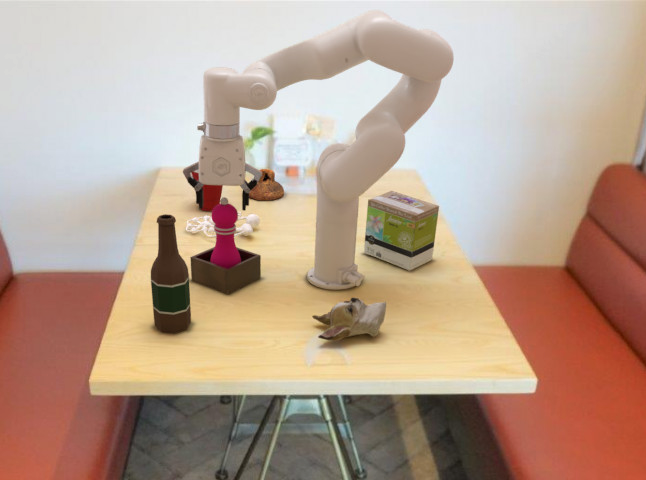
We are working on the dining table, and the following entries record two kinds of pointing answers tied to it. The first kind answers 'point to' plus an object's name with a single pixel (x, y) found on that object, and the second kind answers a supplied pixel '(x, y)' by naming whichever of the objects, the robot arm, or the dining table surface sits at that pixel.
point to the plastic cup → (209, 193)
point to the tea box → (400, 229)
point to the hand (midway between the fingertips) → (222, 207)
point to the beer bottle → (170, 281)
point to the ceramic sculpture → (352, 319)
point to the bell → (267, 187)
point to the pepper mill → (225, 235)
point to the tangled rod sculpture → (245, 229)
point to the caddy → (226, 271)
